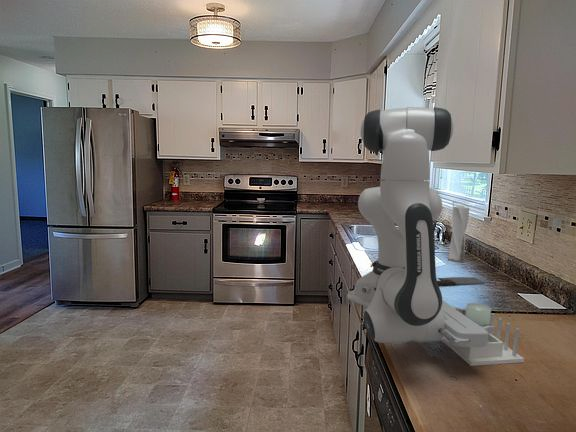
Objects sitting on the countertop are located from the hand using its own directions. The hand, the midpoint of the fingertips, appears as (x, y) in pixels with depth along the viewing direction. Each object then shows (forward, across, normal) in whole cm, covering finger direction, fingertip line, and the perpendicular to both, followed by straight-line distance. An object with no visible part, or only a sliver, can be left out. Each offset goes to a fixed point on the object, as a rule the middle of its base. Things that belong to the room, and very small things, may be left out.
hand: (480, 320), depth 97 cm
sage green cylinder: (-1, 0, +8) cm, 8 cm away
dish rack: (+1, 0, +8) cm, 9 cm away
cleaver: (+23, +52, +9) cm, 58 cm away
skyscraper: (+46, +84, +9) cm, 96 cm away
